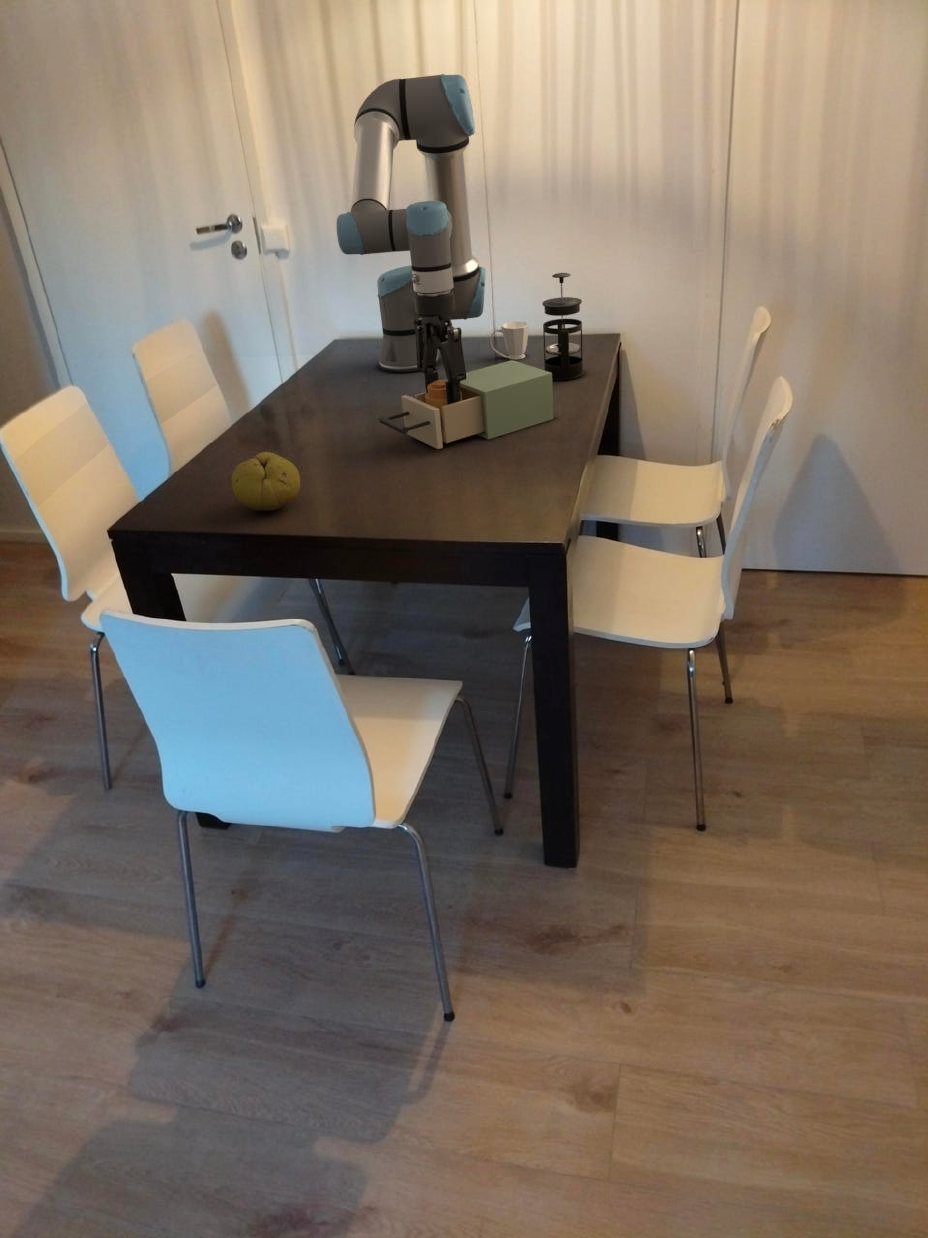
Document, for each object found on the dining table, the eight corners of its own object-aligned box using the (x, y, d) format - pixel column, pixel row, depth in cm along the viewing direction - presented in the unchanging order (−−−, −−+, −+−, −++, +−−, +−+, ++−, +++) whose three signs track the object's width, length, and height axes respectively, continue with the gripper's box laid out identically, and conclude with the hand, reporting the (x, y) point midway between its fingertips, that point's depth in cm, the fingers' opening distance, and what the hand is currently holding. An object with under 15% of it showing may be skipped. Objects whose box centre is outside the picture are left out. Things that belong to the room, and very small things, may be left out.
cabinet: (488, 439, 188) (484, 392, 183) (450, 423, 198) (446, 377, 193) (553, 418, 195) (552, 372, 190) (514, 404, 206) (512, 359, 200)
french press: (542, 369, 226) (539, 270, 214) (581, 366, 225) (580, 267, 213) (545, 384, 216) (542, 281, 204) (586, 381, 215) (585, 277, 203)
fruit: (247, 497, 172) (236, 446, 167) (310, 494, 171) (300, 442, 166) (232, 524, 162) (220, 470, 157) (299, 520, 162) (288, 466, 156)
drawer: (409, 458, 180) (405, 418, 176) (377, 441, 189) (372, 403, 185) (502, 429, 190) (500, 391, 186) (467, 414, 199) (465, 378, 195)
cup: (529, 360, 233) (527, 327, 229) (489, 361, 235) (487, 329, 231) (531, 352, 239) (530, 320, 235) (493, 354, 241) (491, 322, 237)
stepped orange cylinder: (423, 407, 190) (420, 379, 187) (457, 402, 191) (455, 374, 188) (431, 418, 184) (428, 389, 181) (466, 413, 185) (463, 384, 182)
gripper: (390, 288, 181) (403, 402, 193) (445, 303, 167) (456, 426, 179) (423, 280, 185) (433, 393, 197) (480, 295, 170) (488, 416, 182)
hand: (444, 409), depth 188 cm, fingers closed on stepped orange cylinder, 7 cm apart
